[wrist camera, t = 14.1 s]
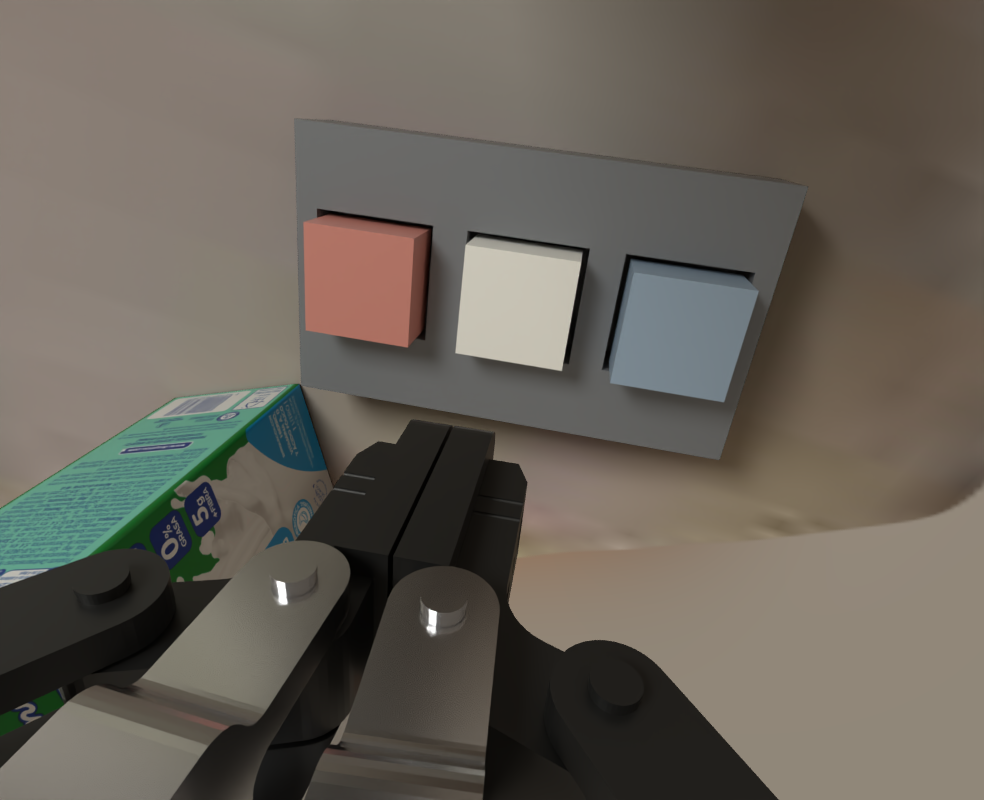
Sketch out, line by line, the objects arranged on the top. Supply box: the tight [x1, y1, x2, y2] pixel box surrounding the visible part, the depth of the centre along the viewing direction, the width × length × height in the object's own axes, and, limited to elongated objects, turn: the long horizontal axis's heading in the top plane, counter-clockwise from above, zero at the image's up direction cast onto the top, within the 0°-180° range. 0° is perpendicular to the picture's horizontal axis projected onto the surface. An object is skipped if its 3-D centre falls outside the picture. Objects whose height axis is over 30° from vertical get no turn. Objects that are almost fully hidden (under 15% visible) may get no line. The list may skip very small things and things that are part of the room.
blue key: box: [609, 258, 759, 402], centre depth 27 cm, size 5×5×3 cm
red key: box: [303, 214, 432, 347], centre depth 28 cm, size 5×5×3 cm
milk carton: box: [0, 384, 333, 736], centre depth 28 cm, size 9×9×25 cm
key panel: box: [294, 119, 808, 460], centre depth 30 cm, size 13×22×4 cm, turn 83°
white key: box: [455, 234, 583, 371], centre depth 28 cm, size 5×5×3 cm
